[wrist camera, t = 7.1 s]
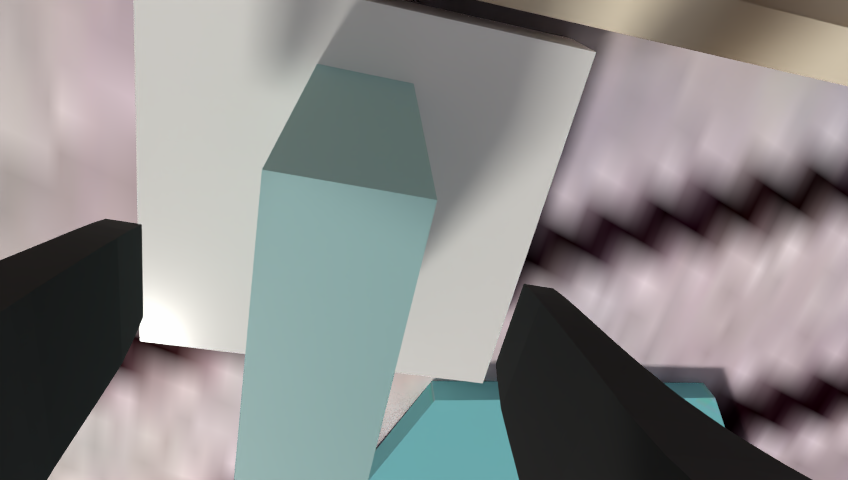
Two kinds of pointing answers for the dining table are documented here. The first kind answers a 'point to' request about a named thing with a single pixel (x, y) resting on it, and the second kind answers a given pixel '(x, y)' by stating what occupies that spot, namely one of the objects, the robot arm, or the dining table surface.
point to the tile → (270, 110)
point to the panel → (333, 277)
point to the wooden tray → (724, 28)
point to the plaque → (469, 434)
